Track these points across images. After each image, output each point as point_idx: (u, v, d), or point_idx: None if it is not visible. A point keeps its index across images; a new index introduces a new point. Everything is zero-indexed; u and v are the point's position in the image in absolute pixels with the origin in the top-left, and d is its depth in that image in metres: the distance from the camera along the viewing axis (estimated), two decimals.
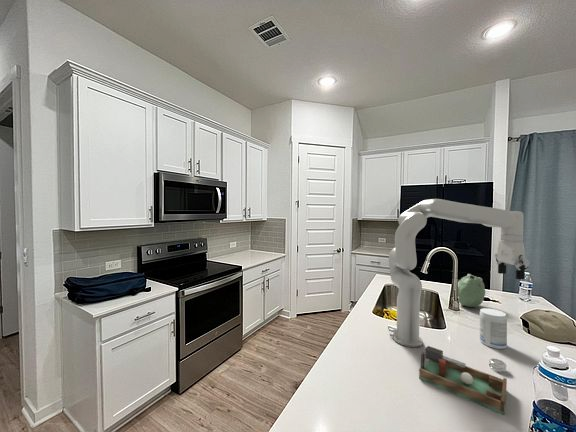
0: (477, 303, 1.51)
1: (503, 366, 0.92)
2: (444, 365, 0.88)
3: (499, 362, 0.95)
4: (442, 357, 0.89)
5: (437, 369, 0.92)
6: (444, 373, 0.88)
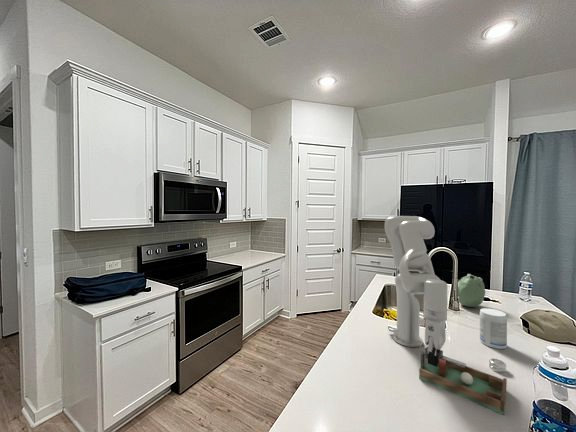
0: (477, 303, 1.51)
1: (503, 366, 0.92)
2: (444, 365, 0.88)
3: (499, 362, 0.95)
4: (442, 357, 0.89)
5: (437, 369, 0.92)
6: (444, 373, 0.88)
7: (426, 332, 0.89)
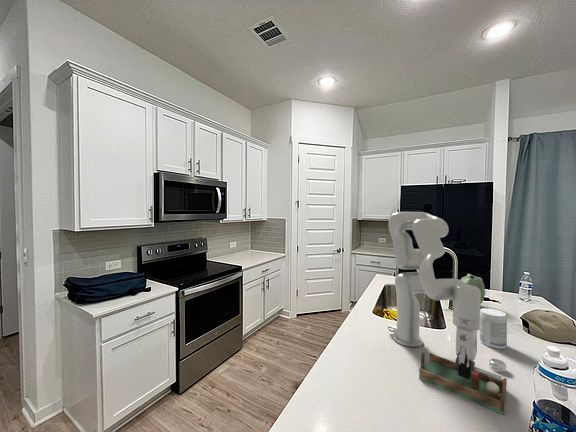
0: None
1: (503, 366, 0.92)
2: (477, 377, 0.82)
3: (499, 362, 0.95)
4: (474, 369, 0.83)
5: (437, 369, 0.92)
6: (477, 386, 0.82)
7: (457, 342, 0.83)
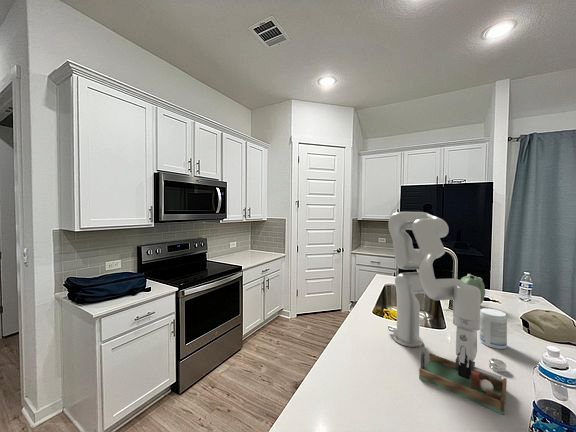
0: None
1: (503, 366, 0.92)
2: (477, 377, 0.82)
3: (499, 362, 0.95)
4: (475, 369, 0.83)
5: (437, 369, 0.92)
6: (477, 386, 0.82)
7: (458, 342, 0.83)
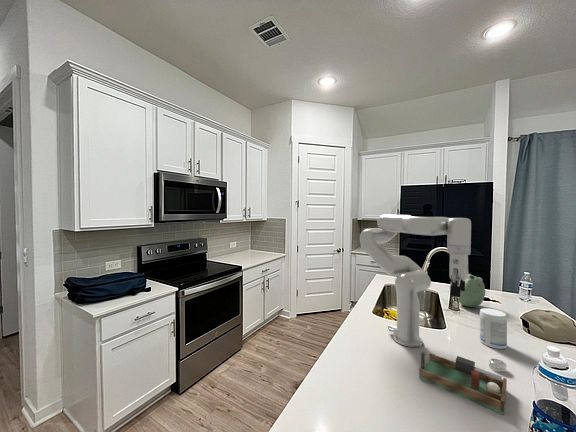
0: (477, 303, 1.51)
1: (503, 366, 0.92)
2: (477, 377, 0.82)
3: (499, 362, 0.95)
4: (475, 369, 0.83)
5: (437, 369, 0.92)
6: (477, 386, 0.82)
7: (451, 266, 0.94)
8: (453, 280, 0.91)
